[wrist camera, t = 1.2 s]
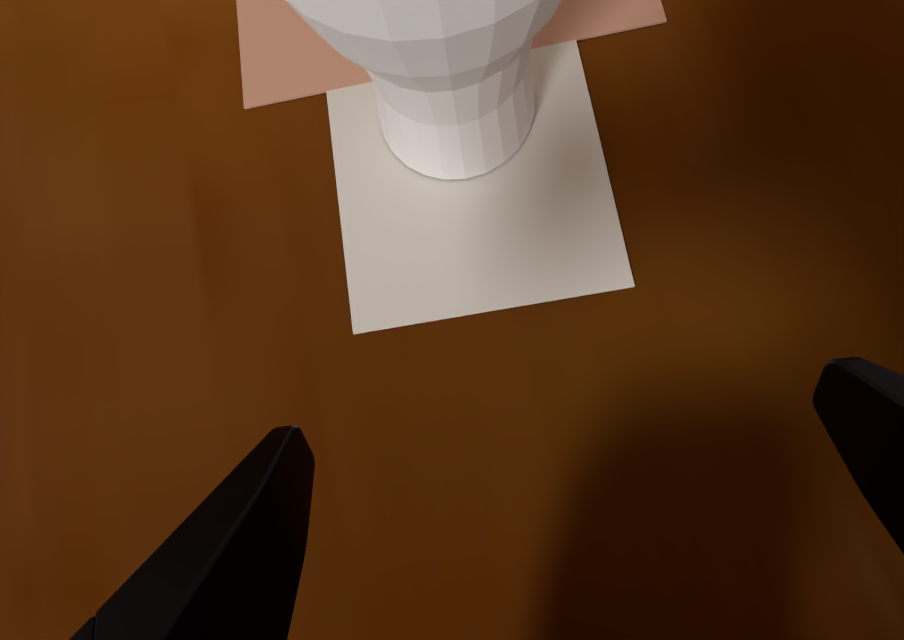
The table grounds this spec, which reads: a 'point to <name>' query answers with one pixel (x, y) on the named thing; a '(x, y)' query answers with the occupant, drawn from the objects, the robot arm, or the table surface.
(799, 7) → the table surface
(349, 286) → the t mat
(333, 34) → the white vase
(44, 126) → the table surface
